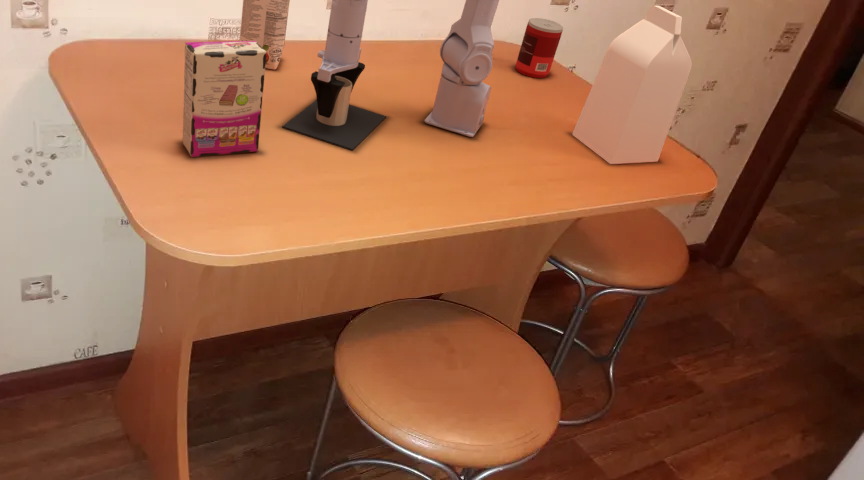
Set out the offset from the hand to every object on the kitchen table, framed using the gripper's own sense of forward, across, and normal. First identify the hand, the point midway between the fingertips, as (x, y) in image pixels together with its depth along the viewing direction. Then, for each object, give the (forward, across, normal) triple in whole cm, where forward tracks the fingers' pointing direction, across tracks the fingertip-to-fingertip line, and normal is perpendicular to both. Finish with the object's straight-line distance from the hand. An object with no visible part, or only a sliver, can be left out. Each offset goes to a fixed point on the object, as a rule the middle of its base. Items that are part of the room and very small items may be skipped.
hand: (332, 108), depth 138 cm
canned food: (+2, -57, +26) cm, 63 cm away
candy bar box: (+2, +22, -10) cm, 24 cm away
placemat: (+2, 0, +1) cm, 3 cm away
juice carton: (+2, -16, -22) cm, 27 cm away
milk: (+2, -27, +48) cm, 55 cm away
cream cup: (+2, 0, 0) cm, 2 cm away
